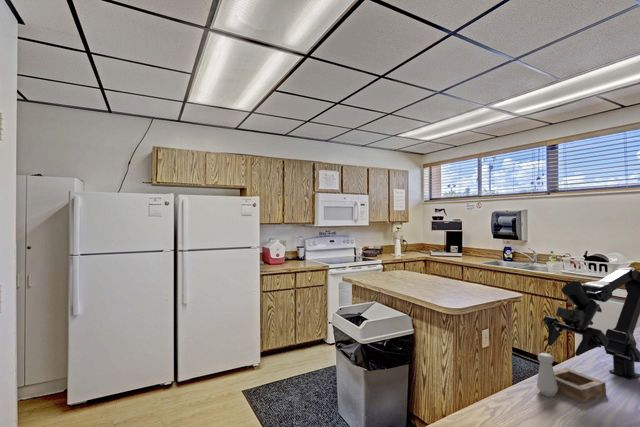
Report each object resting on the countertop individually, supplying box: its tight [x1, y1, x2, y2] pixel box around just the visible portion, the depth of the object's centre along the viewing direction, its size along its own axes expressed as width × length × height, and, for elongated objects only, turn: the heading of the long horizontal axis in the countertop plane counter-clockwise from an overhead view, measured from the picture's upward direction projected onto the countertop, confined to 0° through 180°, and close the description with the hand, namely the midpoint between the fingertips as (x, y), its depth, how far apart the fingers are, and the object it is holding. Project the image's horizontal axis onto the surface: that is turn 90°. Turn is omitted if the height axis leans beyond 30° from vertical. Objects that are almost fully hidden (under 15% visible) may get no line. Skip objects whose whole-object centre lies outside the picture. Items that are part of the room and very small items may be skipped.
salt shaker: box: [536, 352, 558, 398], centre depth 108 cm, size 6×6×13 cm
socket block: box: [553, 367, 607, 404], centre depth 109 cm, size 12×12×4 cm
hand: (561, 350), depth 110 cm, fingers open, 9 cm apart
